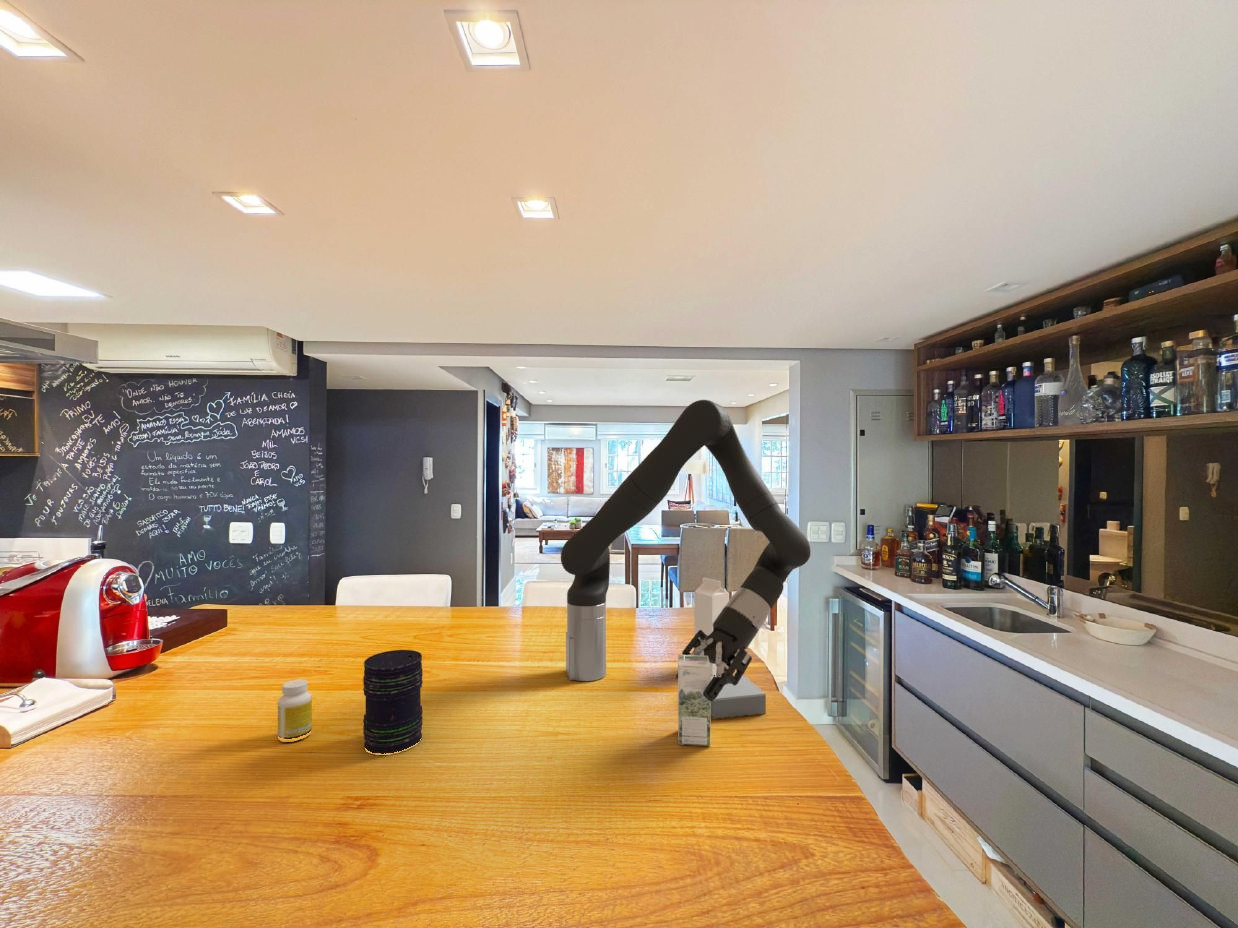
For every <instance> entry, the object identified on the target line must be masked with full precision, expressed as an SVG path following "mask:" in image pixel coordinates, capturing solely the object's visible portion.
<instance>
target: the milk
mask: <svg viewBox="0 0 1238 928" xmlns="http://www.w3.org/2000/svg"><path fill="white" fill-rule="evenodd" d="M693 595H694V597H693V598H694V607H693V608H694V609H693V611H694V612H693V613H694V617H693V618H694V623H693V624H694V625H693V626H694V636H695V635H696V634H697V632H698V631H699V630H702V631H703V632H704V633H705V634H706V635H710V634H711V633H712V632H713V623H714V621H715V620H716V618H717V617H718V616H719V614H720V613H721V611H722V610H723V608H724V607H725V606H726V604H727V603H728V601H729V600H730V592H729V591H727V590H726V589H724V588H723V587H722V582H721V581H720V580H717V579H713V578H708V577H702V583H701V585H699V586H698V587H697V588H696V590H695V591H694V593H693ZM702 653H703V654H704V651H703V652H702ZM709 663H710V662H709ZM710 668H711V676H713V675H715V676H716V671H717V666H716V664H713V663H710Z"/></svg>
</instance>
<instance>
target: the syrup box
mask: <svg viewBox="0 0 1238 928" xmlns="http://www.w3.org/2000/svg"><path fill="white" fill-rule="evenodd" d="M677 673H678V680H677V702H678V703H677V732H678V733H677V734H678V735H677V736H678V737H677V738H678V745H679V746H692V747H711V727H712V726H711V725H712V723H711V718H712V716H711V701H709V700H708V699H707V698H706V697H705V696H704V695H703V692H704V690H705V689H706V687H707V686H708V684H709V683H710V681H711V668H710V663H709V657H708V656H704V655H683V654H678V655H677Z"/></svg>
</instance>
